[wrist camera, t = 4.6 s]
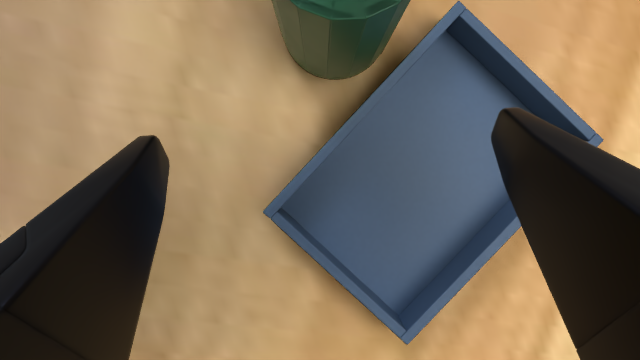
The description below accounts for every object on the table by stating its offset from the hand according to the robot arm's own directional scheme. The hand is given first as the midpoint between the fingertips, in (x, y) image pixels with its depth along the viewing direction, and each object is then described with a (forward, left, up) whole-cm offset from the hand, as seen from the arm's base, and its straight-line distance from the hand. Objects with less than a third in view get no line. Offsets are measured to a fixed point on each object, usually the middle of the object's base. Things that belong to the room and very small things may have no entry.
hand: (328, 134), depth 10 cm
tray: (-5, -3, -14) cm, 15 cm away
